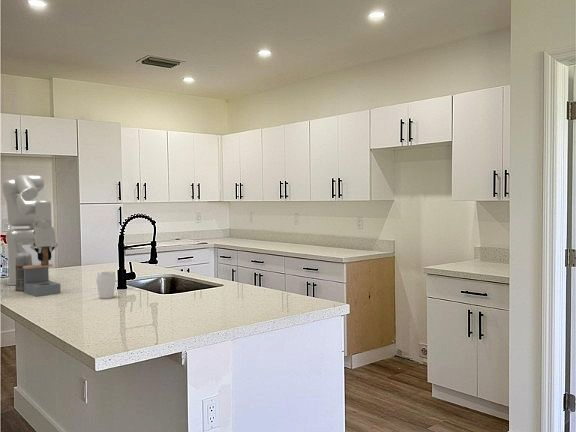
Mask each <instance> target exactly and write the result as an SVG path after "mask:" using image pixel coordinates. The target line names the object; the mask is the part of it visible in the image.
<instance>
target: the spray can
mask: <svg viewBox="0 0 576 432" xmlns="http://www.w3.org/2000/svg"><path fill="white" fill-rule="evenodd" d="M28 265H33V259H32V253H30V252H28V251H26V253H18V254H17V255H16V267H15V268H16V285H15V291H18V292H21V291H22V292H23V291H24V268H23V266H28Z"/></svg>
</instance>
